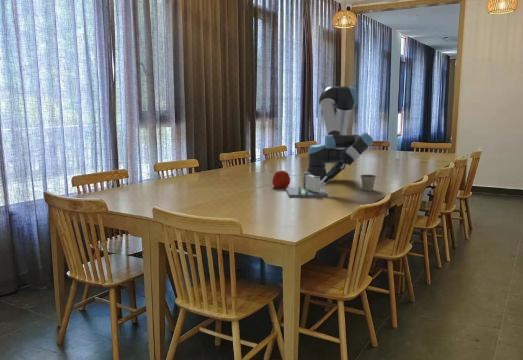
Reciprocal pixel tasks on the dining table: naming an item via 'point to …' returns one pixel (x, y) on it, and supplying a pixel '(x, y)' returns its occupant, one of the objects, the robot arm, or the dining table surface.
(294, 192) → the dial plate
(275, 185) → the apple
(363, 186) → the flower pot
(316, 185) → the white slab
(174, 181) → the dining table surface
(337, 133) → the robot arm
